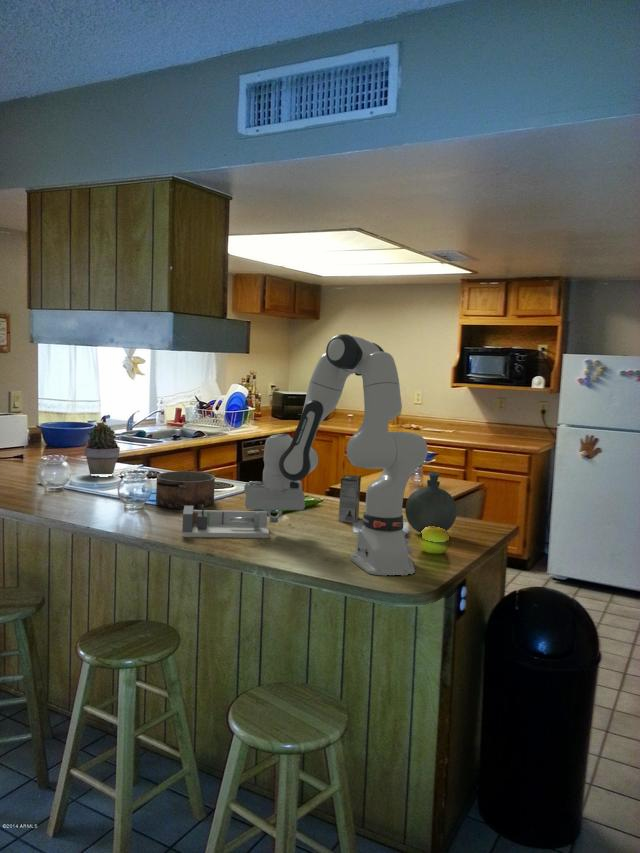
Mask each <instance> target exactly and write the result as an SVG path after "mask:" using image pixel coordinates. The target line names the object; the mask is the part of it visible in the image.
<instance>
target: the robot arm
mask: <svg viewBox="0 0 640 853" xmlns="http://www.w3.org/2000/svg"><path fill="white" fill-rule="evenodd" d="M353 374H354V375H356V376H357V377H358V376H360V377H361V378H362V389H363V400H364V401H363V402H364V403H363V405H364V410H363V411H364V414H363V419H362V422H361V425H360V426H359V429H357V431H356V432H355V433H354V434H353V435H352V436H351V437H350V438H349V440H348V442H347V445H346V456H347V459H348V461H349V462H350V464H351V465H352V466H354V467H357V468H360V469H361V468H362V469H367V470H378V469H379V470H381V469H382V472H381V474H380V476H379V477H377V479H375V480H373V481H371V483H369V485H368V486H367V488H366V495H365V507H364V508H365V511H364V512H363V516H362V524H363V525H362V527H361V528H360V530H357V534H356V543H355V553H353V554H351V555H350V556H349V560H351V561H352V562H353V563H355V564H356V565H357V566H358V567H360V568H361V569H362V570H364V572H366V573H367V574H370V575H377V576H387V575H390V576H391V575H393V576H394V575H401V576H409V575H408V574H411V575H414V574H413V573H416V572H415V567H414V564H413V560H412V557H411V555H412V554H413V546H411V545H408V544H409V543H410V542H409V539H408V538H406V532H405V531H404V530H403V529H404V515H403V506H404V504H403V503H404V496H405V491H406V487H407V485H408V483H409V479H410V478H411V476H412V475H413V474H414V472H415V471H416V470H417V469H418V468H419V467H420V466H422V465H423V464H424V462H425V461H426V459H427V457H428V452H429V450H428V448H429V447H428V444H427V442H426V440H425V438H424V437H423V436H422V435H421V434H417V433H412V432H407V431H389V423H390V422H391V421H392V420H394V419H396V418H397V417H398V416H399V415H400V414H401V411H402V407H403V406H402V397H401V388H400V386H401V385H400V379H399V372H398V370H397V366H396V362H395V359H394V357H393V355H392V354H391V353H389V352H386V351H385V350H384V348H382V347H381V346H380V345H379V344H377V343H374V342H371V341H369V340H366V339H364V338H362V337H358V336H354V335H350V334H347V333H346V334H345V333H344V334H343V333H342V334H337V335H334V336H332V337H331V339H330V340H329V341H328V342H327V345H326V349H325V352H323V353H322V355H320V357H319V359H318V361H317V363H316V365H315V367H314V370H313V372H312V374H311V378H310V380H309V383H308V387H307V391H306V394H305V395H306V396H305V400H304V404H303V409H302V413H301V415H300V419H299V421H298V424H297V427H296V429H295V432H294V435H293V437H291V435H290V434H288V433H278V434H277V433H276V434H272V435H270V436H268V437H267V438H266V440H265V443H264V449H263V451H264V452H263V463H264V467H263V470H262V481H254V480H253V481H252V480H251V481H249V482H247V483H245V484H244V488H243V489H244V490H243V491H244V494H245V496H244V508H245V509H246V510H260V511H262V510H263V511H264V510H266V511H267V516H268V517H269V523H270V524H272V523H273V524H275V523H278V524H279V523H280V522H279V521H280V520H279V519H280V517H281V515H282V514H283V511H303V510H304V509H305V508H306V497H305V493H304V491H303V489H302V488H303V482H302V481H301V480H303V479H304V478H306V477H307V476H308V475H309V474H311V472H313V471H314V470H316V468H317V466H318V465H319V455H318V454H319V453H317V450H316V449H315V448H314V447H312V446H313V443H314V441H315V437H316V434H317V432H318V429H319V428H320V425H321V424H322V422H323V421H324V420H325V419H326V417H328V415H330V414H331V413H332V412H333V411H334V410H335V409H336V406H337V404H339V401H340V399H341V395H342V394H343V390H344V388H345V383H346V381H347V379H348V377H350V375H353ZM272 511H277V515H275V516H272V514H271V513H272ZM390 576H389V577H390ZM391 577H392V576H391Z"/></svg>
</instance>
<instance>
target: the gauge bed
mask: <svg viewBox="0 0 640 853" xmlns="http://www.w3.org/2000/svg"><path fill="white" fill-rule="evenodd" d="M193 507H194V506H184V509H183V511H182V533H181V534H182V535H181V537H182V538H185V537H186V538H236V539H237V538H240V539H241V538H244V539H245V538H248V539H249V538H250V539H256V538H257V539H268V538H270V532H269V528H268V513H267V510H266V511H264V510H263V511H262V510H258V511H259V530H254V526H253V522H230V517H244V518H254V511H255V510H251V511H250V510H210V509H209V510H207V509H206V510H205V509H204V513H207V529H198V528H197V527H198V513H202V509H201V510H199V509H193Z"/></svg>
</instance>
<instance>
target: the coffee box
mask: <svg viewBox="0 0 640 853" xmlns="http://www.w3.org/2000/svg"><path fill="white" fill-rule="evenodd" d="M361 480H362V476H361V475H349V474H345V475H344V476H343V477H342V478H340V486H339V487H340V490H339V509H338V522H342V523H343V522H344V523H353V522H355V521H357V520H358V519H359V514H360V501H361V500H360V497H361V484H362V483H361ZM355 523H356V522H355Z"/></svg>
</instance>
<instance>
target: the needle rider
mask: <svg viewBox="0 0 640 853" xmlns="http://www.w3.org/2000/svg"><path fill="white" fill-rule="evenodd" d="M201 510H202V513H198V527H197V528H198V529H207V513H204V510H205V508H204V505H202V508H201Z"/></svg>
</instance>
